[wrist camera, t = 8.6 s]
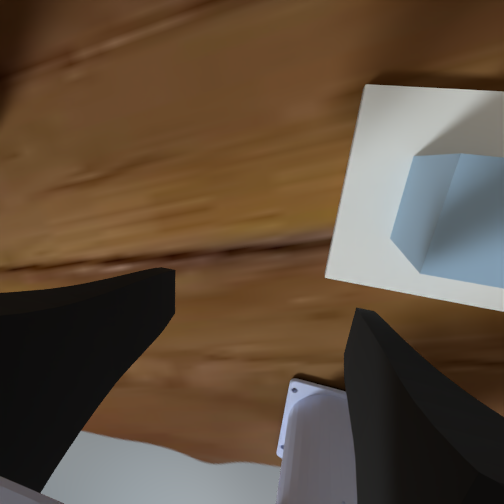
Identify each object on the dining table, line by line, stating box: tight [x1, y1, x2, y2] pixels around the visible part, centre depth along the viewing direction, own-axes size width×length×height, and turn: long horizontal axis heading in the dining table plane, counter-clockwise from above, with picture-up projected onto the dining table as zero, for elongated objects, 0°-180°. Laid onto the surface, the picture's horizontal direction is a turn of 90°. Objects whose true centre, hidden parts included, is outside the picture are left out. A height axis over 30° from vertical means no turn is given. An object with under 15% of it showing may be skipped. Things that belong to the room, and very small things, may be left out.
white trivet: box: [325, 84, 504, 312], centre depth 17 cm, size 12×12×1 cm
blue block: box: [390, 153, 504, 289], centre depth 13 cm, size 5×5×6 cm
